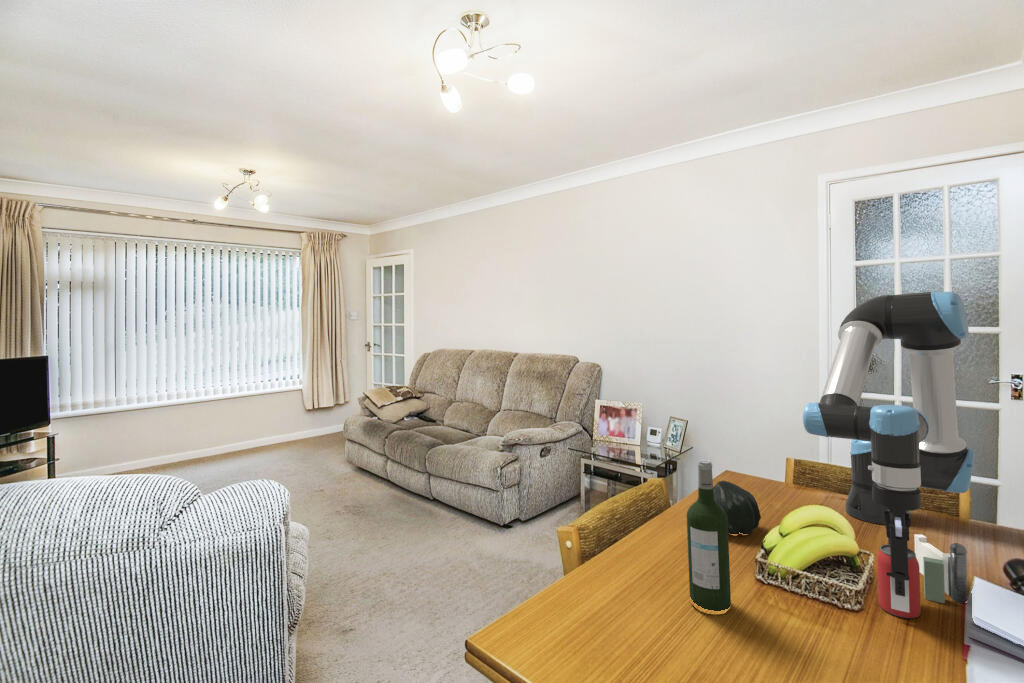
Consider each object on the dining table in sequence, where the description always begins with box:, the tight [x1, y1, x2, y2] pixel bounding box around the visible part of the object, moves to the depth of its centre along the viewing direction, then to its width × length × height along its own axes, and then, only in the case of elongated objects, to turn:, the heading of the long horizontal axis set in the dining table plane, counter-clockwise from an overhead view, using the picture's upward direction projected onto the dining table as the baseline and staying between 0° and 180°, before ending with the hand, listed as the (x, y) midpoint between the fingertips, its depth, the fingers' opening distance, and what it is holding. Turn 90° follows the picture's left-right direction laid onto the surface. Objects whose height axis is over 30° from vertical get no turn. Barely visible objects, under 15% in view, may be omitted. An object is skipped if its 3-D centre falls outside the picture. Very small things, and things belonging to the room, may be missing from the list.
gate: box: [913, 533, 951, 596], centre depth 105 cm, size 11×2×8 cm, turn 169°
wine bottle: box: [686, 459, 732, 611], centre depth 100 cm, size 8×8×30 cm
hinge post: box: [949, 542, 968, 605], centre depth 98 cm, size 3×3×12 cm
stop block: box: [923, 557, 946, 604], centre depth 99 cm, size 2×3×8 cm, turn 54°
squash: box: [713, 480, 762, 535], centre depth 135 cm, size 14×15×15 cm
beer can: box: [876, 543, 922, 619], centre depth 96 cm, size 7×7×12 cm
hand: (898, 599), depth 96 cm, fingers open, 7 cm apart
